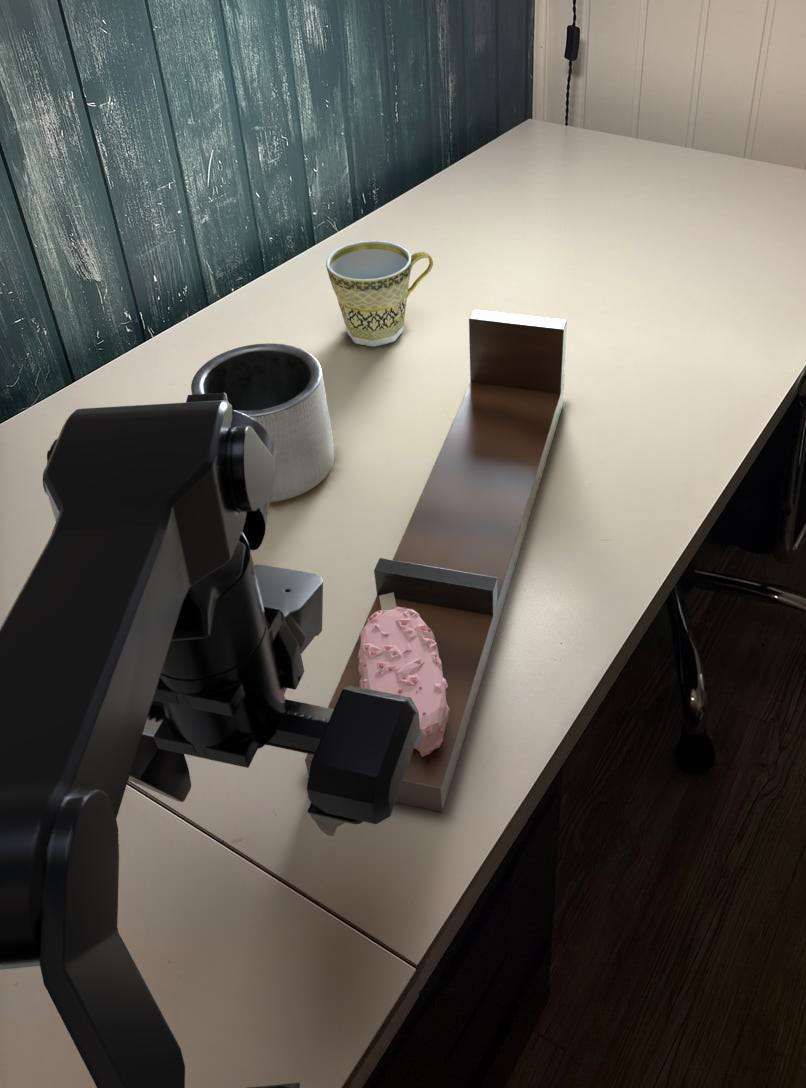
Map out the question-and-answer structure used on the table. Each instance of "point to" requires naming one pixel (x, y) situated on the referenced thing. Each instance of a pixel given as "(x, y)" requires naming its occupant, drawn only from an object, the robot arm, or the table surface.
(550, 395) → the shelf
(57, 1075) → the table surface
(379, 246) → the ceramic cup
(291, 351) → the planter
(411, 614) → the ice cream bar
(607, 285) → the table surface
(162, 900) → the table surface
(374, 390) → the table surface
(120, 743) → the robot arm
